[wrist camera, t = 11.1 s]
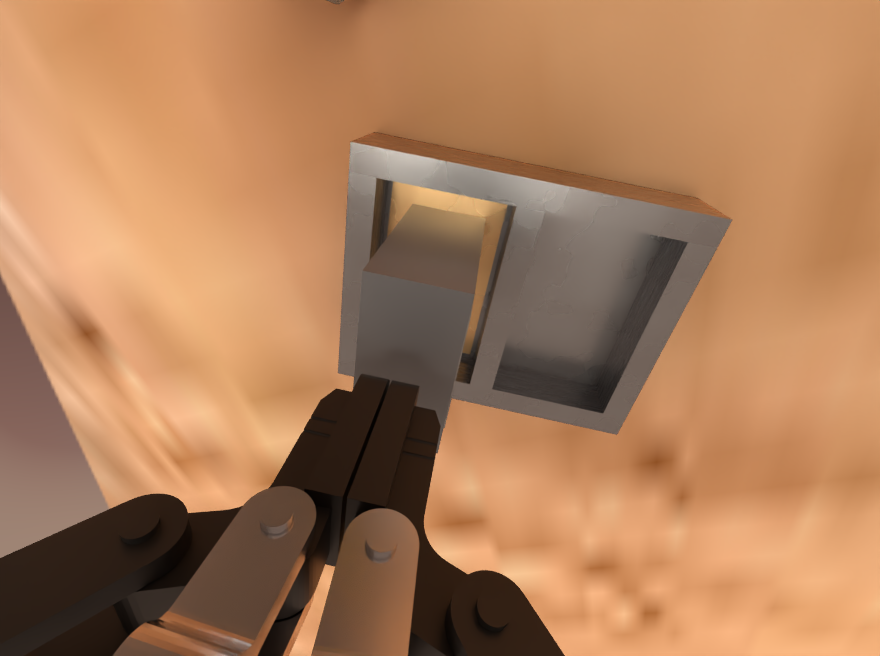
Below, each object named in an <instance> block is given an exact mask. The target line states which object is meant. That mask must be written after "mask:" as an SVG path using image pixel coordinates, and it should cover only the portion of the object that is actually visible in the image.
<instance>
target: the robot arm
mask: <svg viewBox="0 0 880 656" xmlns="http://www.w3.org/2000/svg"><path fill="white" fill-rule="evenodd" d="M419 389H420V386H417V385H413V384H408V383H404V382H399V381H395V380H392V381H391V383H390V380H389V379H385V378H381V377H376V376H371V375H367V374H361V375H360V376H359V378H358V380H357V382H356V384H355V386H354V388H353V391H352V392H349V391H345V390H340V389H335V390H334V391H332V392H331V393H330V394H328V395H327V396H326V397H324V398H323V399H322V400H320V402H319V404H318V406H317V407H316V409H315V411H314V412H313V414H312V416H311V419H309V421H308V423H307V425H306V426H305V428H304V431H303V432H302V433H301V435H300V437H299V438H298V440H297V442H296V444H295V445H294V447H293V449H292V451H291V452H290V454H289V456H288V458H287V459H286V461H285V463H284V465H283V466H282V468H281V470H280V471H279V473H278V475H277V477H276V478H275V480H274V482H273V483H272V485H271V486H270V487H269V489H266V490H263V491H261V492H259V493H257V494H256V495H254V496H253V497H251V498H250V499H249V500H248V501H247V502H246V503H245V504H244V505H243V506H241V507H238V508H234V509H230V510H223V511H210V512H197V513H188V512H187V509H186V506H185V505H184V504H183V502H182V501H180V500H179V499H178V498H176V497H174V496H171V495H167V494H149V495H144V496H140V497H137V498H134V499H132V500H129V501H127V502H125V503H122V504H120V505H118V506H116V507H113V508H111V509H109V510H107V511H105V512H102V513H100V514H98V515H96V516H93V517H92V518H89V519H87V520H85V521H82V522H80V523H78V524H76V525H73V526H71V527H69V528H67V529H64V530H62V531H60V532H58V533H55V534H53V535H51V536H49V537H46V538H44V539H42V540H40V541H38V542H35V543H33V544H31V545H29V546H26V547H24V548H22V549H20V550H18V551H15V552H13V553H11V554H9V555H6V556H4V557H2V558H0V656H289V654H290V652H291V650H292V647H293V645H294V643H295V641H296V638H297V636H298V634H299V632H300V629H301V627H302V625H303V623H304V620H305V618H306V616H307V614H308V611H309V609H310V607H311V604H312V601H313V597H314V592H315V590H316V587H317V585H318V582H319V579H320V577H321V574H322V571H323V568H324V566H325V564H327V565H331V566H335V570H334V574H333V577H332V581H331V585H330V589H329V592H328V596H327V600H326V603H325V607H324V611H323V614H322V618H321V622H320V625H319V629H318V633H317V636H316V640H315V644H314V647H313V651H312V654H311V656H565V655H564V654H563V652H562V651H561V649H560V648H559V646H558V645H557V643H556V642H555V640H554V639H553V637H552V636H551V634H550V633H549V631H548V630H547V628H546V627H545V625H544V624H543V622H542V621H541V619H540V618H539V616H538V615H537V613H536V612H535V610H534V609H533V607H532V606H531V604H530V603H529V601H528V600H527V598H526V597H525V595H524V594H523V592H522V591H521V590H520V588H519V587H518V586H517V585H516V584H515V583H514V582H513V581H511V580H510V579H509V578H507V577H506V576H504V575H502V574H500V573H497V572H494V571H488V570H481V571H476V572H473V573H470V574H466V573H465V572H463V571H461V570H460V569H458V568H456V567H455V566H453V565H452V564H450V563H448V562H447V561H446V560H444V559H443V558H441V557H440V556H439V555H438V554H437V553H436V552H435V550H434V549H433V548H432V547H431V545H430V543H429V541H428V539H427V537H426V534H425V530H424V514H425V509H426V503H427V498H428V493H429V487H430V482H431V477H432V471H433V466H434V460H435V455H436V450H437V444H438V439H439V434H440V428H441V426H440V423H439V420H438V417H437V414H436V411H435V410H431V409H427V408H422V407H418V406H416V405H417V400H418V394H419Z"/></svg>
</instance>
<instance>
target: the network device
mask: <svg viewBox="0 0 880 656" xmlns="http://www.w3.org/2000/svg"><path fill="white" fill-rule="evenodd" d="M327 1H329V2H332V3H334V4H340V3H342V2H343V1H344V0H327Z"/></svg>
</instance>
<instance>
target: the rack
mask: <svg viewBox="0 0 880 656" xmlns="http://www.w3.org/2000/svg"><path fill="white" fill-rule="evenodd" d="M412 204H416V205H421V206H426V207H431V208H436V209H441V210H446V211H450V212H455V213H460V214H465V215H470V216H475V217H480V218H484V219H486V220H485V227H484V234H483V241H482V248H481V255H480V262H479V268H478V275H477V282H476V289H475V295H474V300H473V307H472V313H471V318H470V322H469V326H468V331H467V335H466V339H465V343H464V347H463V352H462V356H461V360H460V364H459V369H458V373H457V377H456V381H455V386H454V390H453V394H452V398H453V399H458V400H462V401H467V402H471V403H476V404H480V405H485V406H489V407H494V408H498V409H503V410H508V411H512V412H517V413H521V414H526V415H530V416H535V417H539V418H544V419H548V420H553V421H557V422H562V423H566V424H571V425H576V426H580V427H585V428H589V429H594V430H598V431H603V432H607V433H612V434H616V435H617V434H618V432H619V430H620V428H621V426H622V424H623V423H624V421H625V419H626V417H627V415H628V413H629V411H630V410H631V408H632V406H633V404H634V402H635V400H636V398H637V397H638V395H639V393H640V391H641V389H642V387H643V385H644V383H645V382H646V380H647V378H648V376H649V374H650V372H651V370H652V369H653V367H654V365H655V363H656V361H657V359H658V357H659V356H660V354H661V352H662V350H663V348H664V346H665V344H666V342H667V341H668V339H669V337H670V335H671V333H672V331H673V329H674V328H675V326H676V324H677V322H678V320H679V318H680V316H681V315H682V313H683V311H684V309H685V307H686V305H687V303H688V302H689V300H690V298H691V296H692V294H693V292H694V290H695V288H696V287H697V285H698V283H699V281H700V279H701V277H702V275H703V274H704V272H705V270H706V268H707V266H708V264H709V262H710V261H711V259H712V257H713V255H714V253H715V251H716V249H717V247H718V246H719V244H720V242H721V240H722V238H723V236H724V234H725V233H726V231H727V229H728V227H729V225H730V223H731V221H732V219H730V218H729V217H727V216H725V215H724V214H722V213H721V212H719V211H717V210H716V209H714V208H712V207H711V206H709V205H708V204H706V203H704V202H703V201H701V200H700V199H698V198H694V197H689V196H684V195H679V194H675V193H670V192H665V191H660V190H655V189H650V188H645V187H640V186H635V185H630V184H625V183H620V182H616V181H611V180H606V179H601V178H596V177H591V176H586V175H581V174H576V173H571V172H566V171H562V170H557V169H552V168H547V167H542V166H537V165H532V164H527V163H522V162H517V161H512V160H508V159H503V158H498V157H493V156H488V155H483V154H478V153H473V152H468V151H463V150H458V149H453V148H449V147H444V146H439V145H434V144H429V143H424V142H419V141H414V140H409V139H404V138H399V137H395V136H390V135H385V134H380V133H375V132H374V133H371V134H369V135H366V136H364V137H361V138H359V139H356V140H354V141H351V143H350V162H349V180H348V199H347V217H346V235H345V254H344V272H343V291H342V309H341V328H340V346H339V364H338V373H340V374H344V375H349V376H353V377H354V373H355V361H356V348H357V335H358V322H359V309H360V296H361V283H362V271H363V269H364V268H365V267H366V265H367V264H368V263H369V261H370V260H371V259H372V257H373V256H374V255H375V253H376V252H377V251H378V249H379V248H380V247H381V245H382V244H383V243H384V241H385V240H386V239H387V237H388V236H389V235H390V233H391V232H392V231H393V229H394V228H395V227H396V225H397V224H398V223H399V221H400V220H401V219H402V217H403V216H404V215H405V213H406V212H407V211H408V209H409V208H410V207H411V205H412Z"/></svg>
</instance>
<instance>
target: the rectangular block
mask: <svg viewBox="0 0 880 656" xmlns="http://www.w3.org/2000/svg"><path fill="white" fill-rule="evenodd" d="M485 220H486V219H484V218H480V217H475V216H470V215H465V214H460V213H455V212H450V211H446V210H441V209H436V208H431V207H426V206H421V205H416V204H412V205H411V207H410V208H409V209H408V211H407V212H406V213H405V215H404V216H403V217H402V219H401V220H400V221H399V223H398V224H397V225H396V227H395V228H394V229H393V231H392V232H391V233H390V235H389V236H388V237H387V239H386V240H385V241H384V243H383V244H382V245H381V247H380V248H379V249H378V251H377V252H376V253H375V255H374V256H373V257H372V259H371V260H370V261H369V263H368V264H367V265H366V267H365V268H364V269H363V271H362V283H361V296H360V309H359V322H358V335H357V348H356V361H355V373H354V386H355V384H356V382H357V380H358V378H359V376H360V375H361V374H367V375H371V376H376V377H381V378H385V379H389V380H390V383H391V381H392V380H395V381H399V382H404V383H408V384H413V385H417V386H420V389H419V394H418V400H417V405H416V406H418V407H422V408H427V409H431V410H435V411H436V414H437V417H438V420H439V423H440V426H441V428H440V434H439V439H438V444H437V450H436V453H438V449H439V445H440V440H441V436H442V432H443V428H445V424H446V419H447V415H448V411H449V407H450V403H451V398H452V394H453V390H454V386H455V381H456V377H457V373H458V369H459V364H460V360H461V356H462V352H463V347H464V343H465V339H466V335H467V331H468V326H469V322H470V318H471V313H472V307H473V300H474V295H475V289H476V282H477V275H478V268H479V262H480V255H481V248H482V241H483V234H484V227H485ZM354 386H353V388H354Z"/></svg>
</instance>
